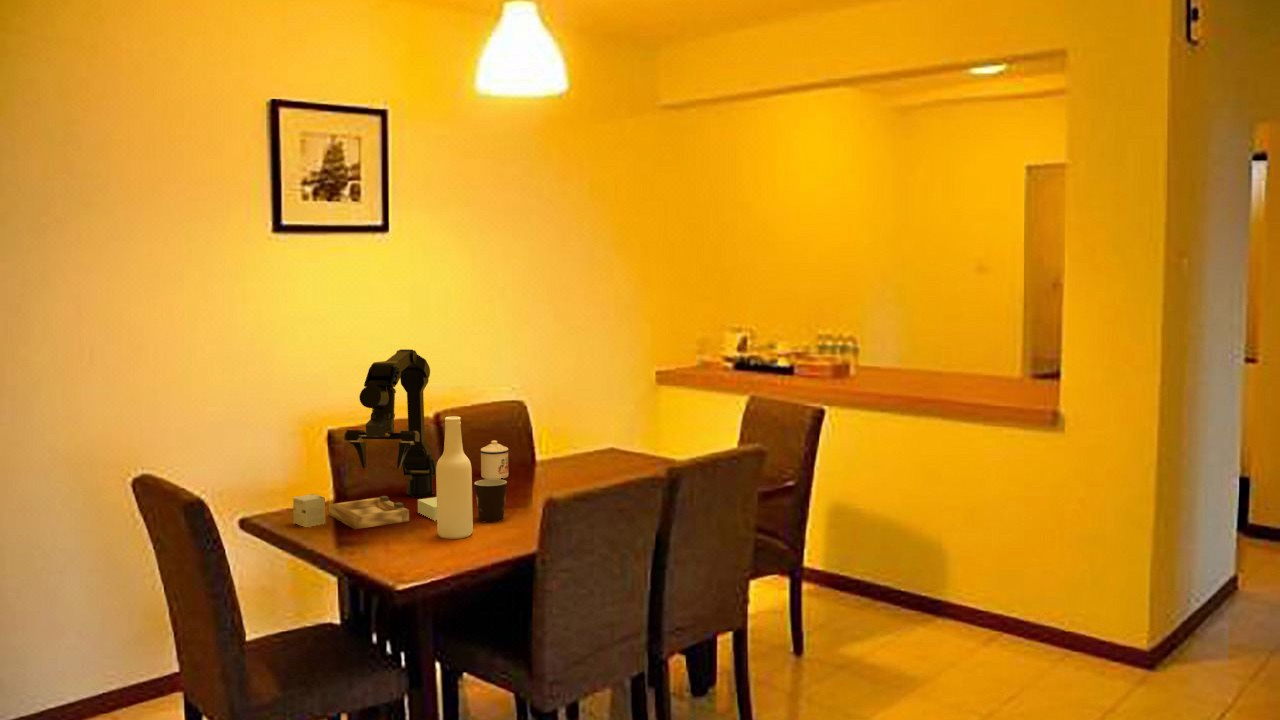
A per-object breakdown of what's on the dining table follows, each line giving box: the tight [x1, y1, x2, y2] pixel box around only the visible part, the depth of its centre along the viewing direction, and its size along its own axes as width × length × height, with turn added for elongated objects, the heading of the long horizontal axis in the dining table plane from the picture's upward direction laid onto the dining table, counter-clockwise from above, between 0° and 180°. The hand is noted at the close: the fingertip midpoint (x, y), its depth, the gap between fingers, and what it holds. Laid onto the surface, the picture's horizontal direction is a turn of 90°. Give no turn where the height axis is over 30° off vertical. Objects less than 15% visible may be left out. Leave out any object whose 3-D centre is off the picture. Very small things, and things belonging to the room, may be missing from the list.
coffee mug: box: [473, 479, 508, 523], centre depth 286 cm, size 12×9×10 cm
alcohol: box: [435, 415, 474, 540], centre depth 268 cm, size 9×9×30 cm
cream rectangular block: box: [417, 496, 437, 522], centre depth 290 cm, size 6×11×4 cm, turn 35°
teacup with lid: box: [479, 439, 510, 480], centre depth 342 cm, size 12×9×12 cm
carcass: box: [328, 495, 410, 530], centre depth 287 cm, size 15×19×4 cm
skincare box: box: [292, 493, 326, 528], centre depth 281 cm, size 6×6×7 cm
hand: (381, 468), depth 282 cm, fingers open, 9 cm apart
